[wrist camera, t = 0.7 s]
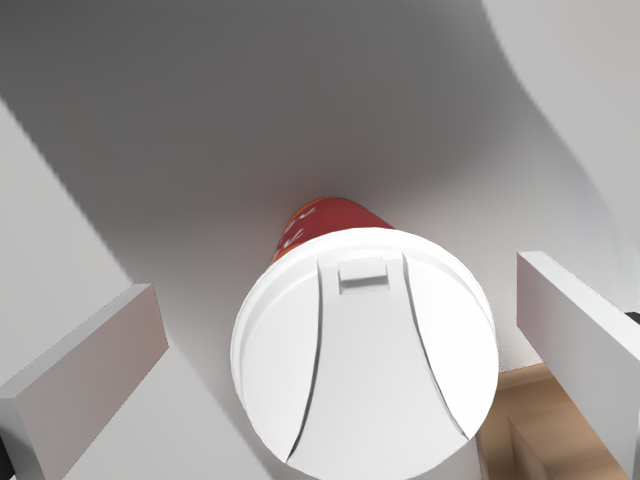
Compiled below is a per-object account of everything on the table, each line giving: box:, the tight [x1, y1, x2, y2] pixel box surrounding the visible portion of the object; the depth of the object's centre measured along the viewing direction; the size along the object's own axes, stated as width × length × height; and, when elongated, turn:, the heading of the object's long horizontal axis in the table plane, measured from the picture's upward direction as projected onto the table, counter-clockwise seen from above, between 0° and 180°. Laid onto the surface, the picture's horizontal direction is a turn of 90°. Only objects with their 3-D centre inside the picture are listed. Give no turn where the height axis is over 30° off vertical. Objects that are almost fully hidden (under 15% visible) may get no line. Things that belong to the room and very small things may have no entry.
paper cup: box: [230, 197, 499, 480], centre depth 18 cm, size 8×8×14 cm
